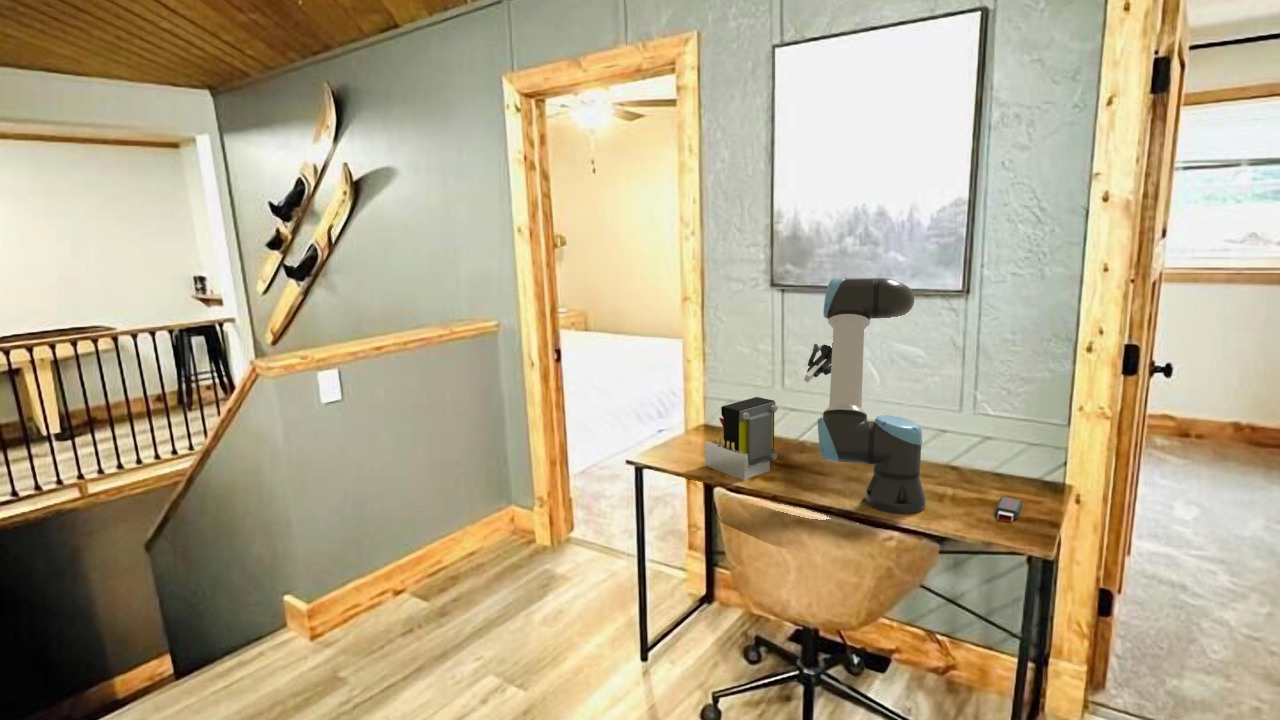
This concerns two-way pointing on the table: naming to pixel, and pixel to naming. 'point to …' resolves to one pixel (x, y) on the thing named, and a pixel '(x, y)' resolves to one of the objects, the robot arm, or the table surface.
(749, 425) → the electrical component
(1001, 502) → the usb drive
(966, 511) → the table surface
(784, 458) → the table surface
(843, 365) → the robot arm
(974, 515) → the table surface
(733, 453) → the mounting bracket
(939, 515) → the table surface
